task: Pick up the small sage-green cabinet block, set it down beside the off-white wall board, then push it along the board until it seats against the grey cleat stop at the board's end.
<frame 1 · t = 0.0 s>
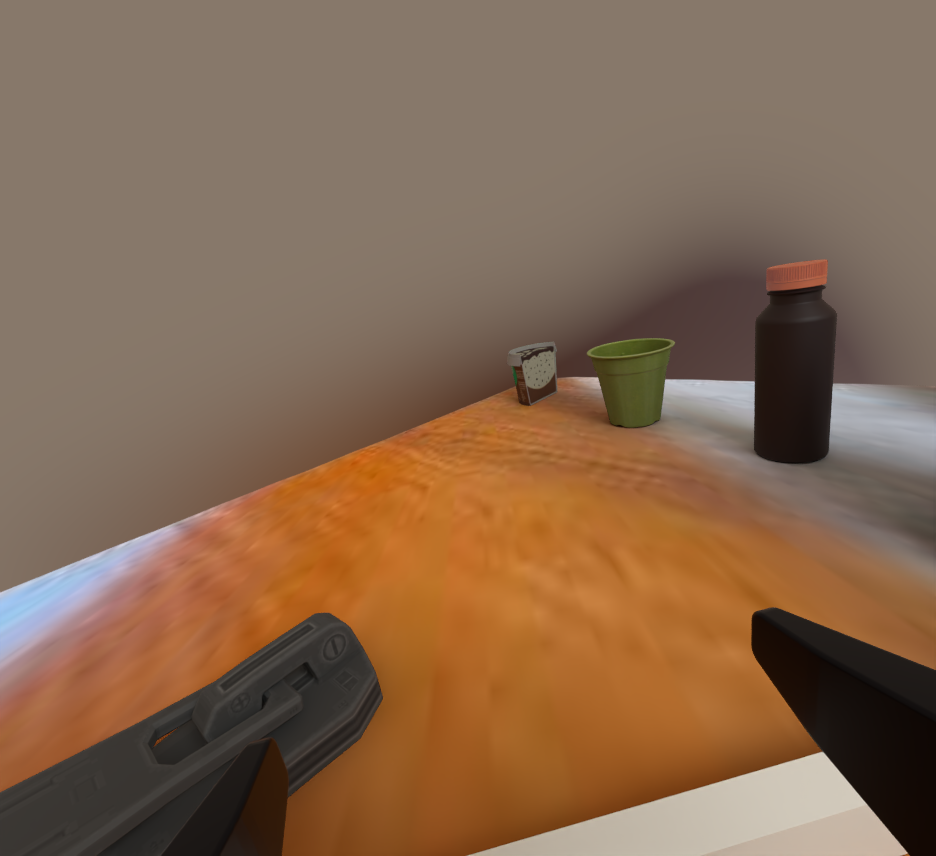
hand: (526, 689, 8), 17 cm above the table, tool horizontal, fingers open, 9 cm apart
plant pot: (634, 422, 70), on the table
dark grey elongated piece: (166, 836, 24), on the table
food container: (531, 398, 93), on the table
bottle: (789, 453, 52), on the table
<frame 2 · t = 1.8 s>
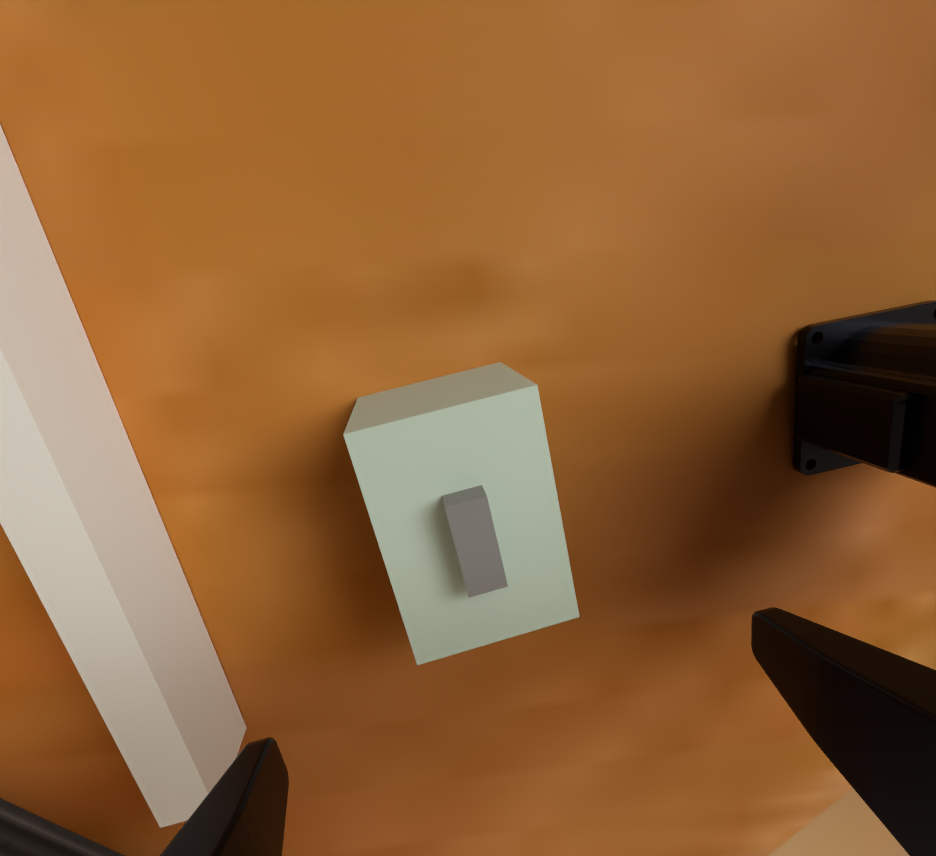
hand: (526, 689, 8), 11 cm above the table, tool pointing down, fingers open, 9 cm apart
cabinet block: (453, 474, 19), on the table
cleat board: (75, 389, 16), on the table
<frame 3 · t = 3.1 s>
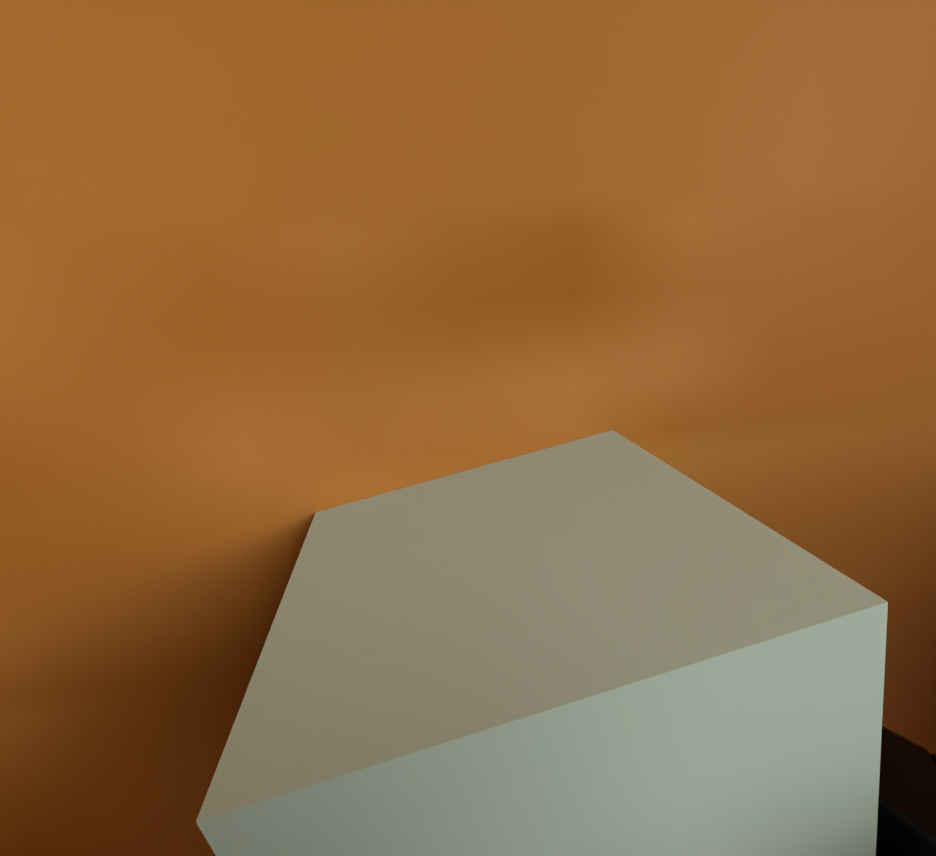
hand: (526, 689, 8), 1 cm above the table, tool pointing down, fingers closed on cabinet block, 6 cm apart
cabinet block: (512, 646, 9), on the table, touching gripper
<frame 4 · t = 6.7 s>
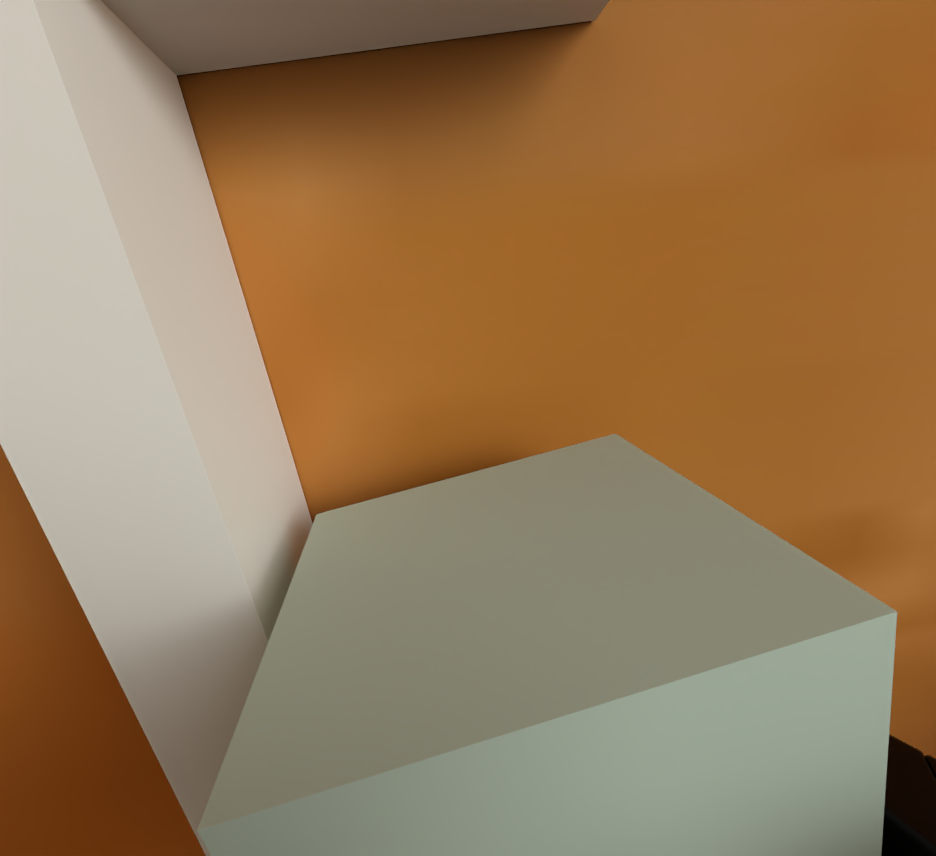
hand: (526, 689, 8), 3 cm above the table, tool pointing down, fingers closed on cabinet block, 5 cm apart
cabinet block: (513, 650, 9), point 2 cm above the table, touching gripper
cleat board: (325, 714, 11), on the table
when the fingers open (3 cm above the table, at t = 6.9 s): cabinet block drops 2 cm, on the table.
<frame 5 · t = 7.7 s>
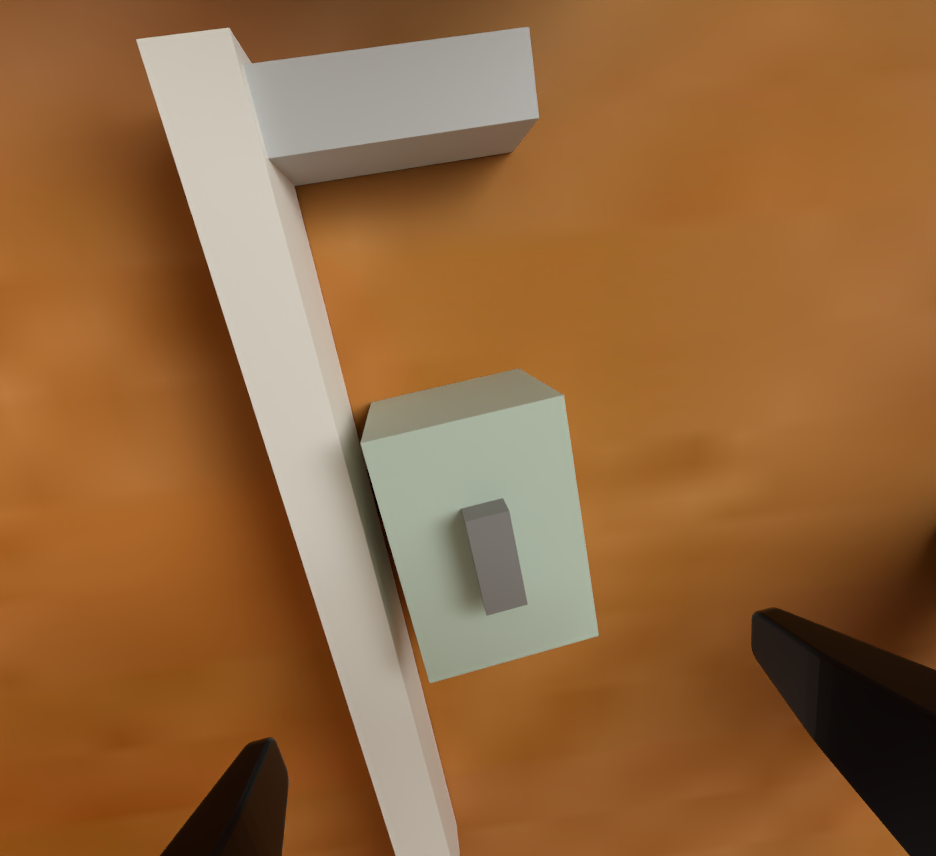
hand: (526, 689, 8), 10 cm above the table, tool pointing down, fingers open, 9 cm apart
cabinet block: (467, 483, 18), on the table
cleat board: (361, 554, 18), on the table
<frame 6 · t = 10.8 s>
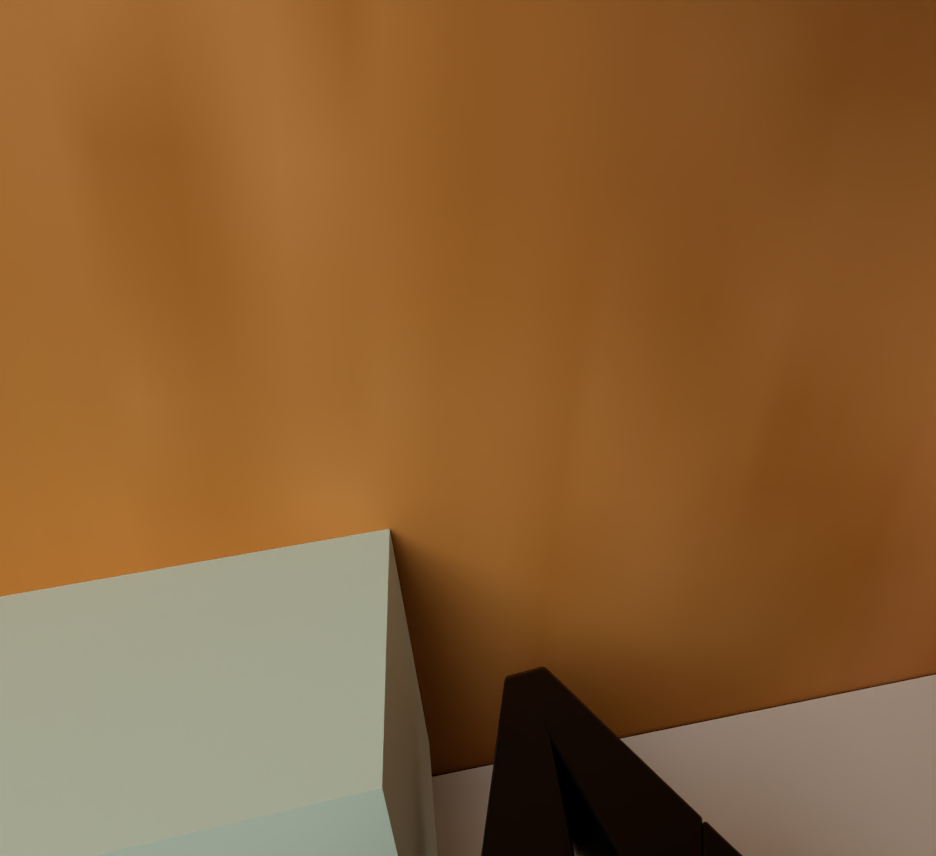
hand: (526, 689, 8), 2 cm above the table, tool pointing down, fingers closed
cabinet block: (213, 683, 9), on the table, touching gripper
cleat board: (356, 824, 11), on the table
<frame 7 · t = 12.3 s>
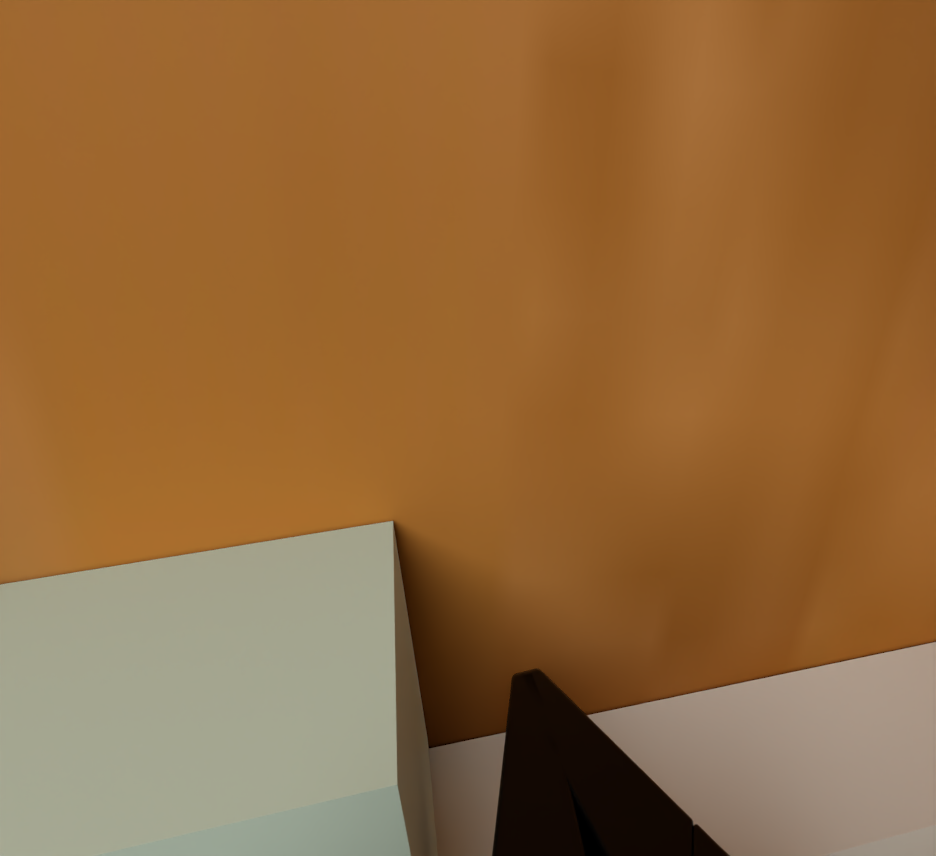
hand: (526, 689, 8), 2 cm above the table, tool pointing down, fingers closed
cabinet block: (208, 679, 9), on the table, touching cleat board, gripper
cleat board: (629, 737, 11), on the table
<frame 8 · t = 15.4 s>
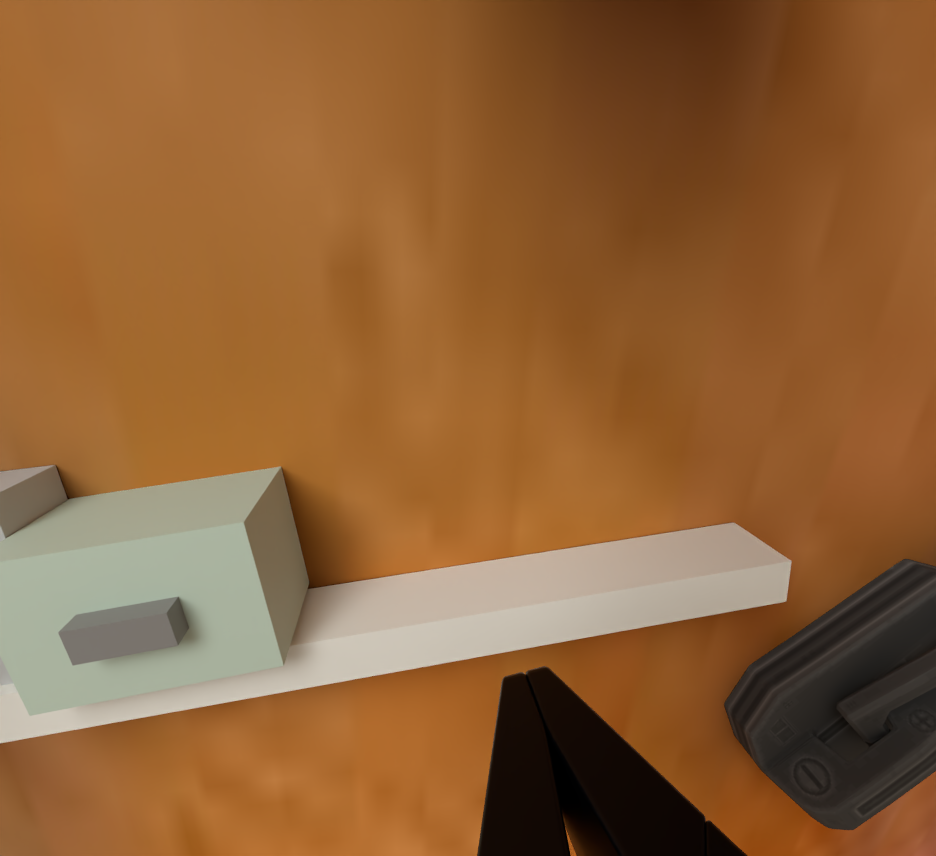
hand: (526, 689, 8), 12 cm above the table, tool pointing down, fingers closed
cabinet block: (198, 541, 19), on the table
dark grey elongated piece: (908, 601, 26), on the table
cleat board: (421, 590, 21), on the table
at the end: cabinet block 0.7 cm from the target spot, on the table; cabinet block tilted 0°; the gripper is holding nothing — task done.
